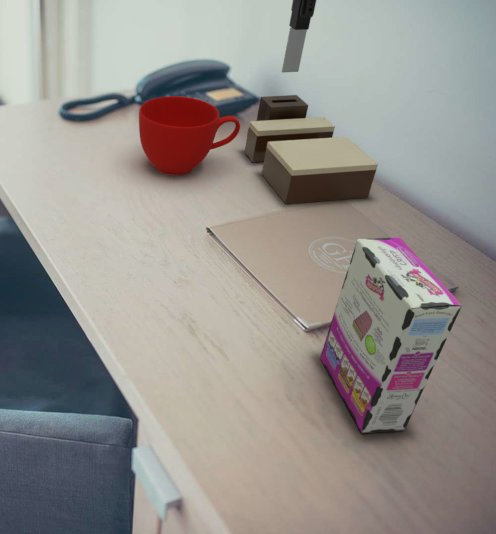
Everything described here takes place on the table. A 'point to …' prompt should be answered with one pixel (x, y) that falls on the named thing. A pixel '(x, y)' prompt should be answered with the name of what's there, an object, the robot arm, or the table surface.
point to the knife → (295, 39)
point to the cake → (318, 170)
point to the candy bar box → (386, 333)
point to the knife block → (281, 108)
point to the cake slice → (283, 133)
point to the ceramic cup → (180, 132)
